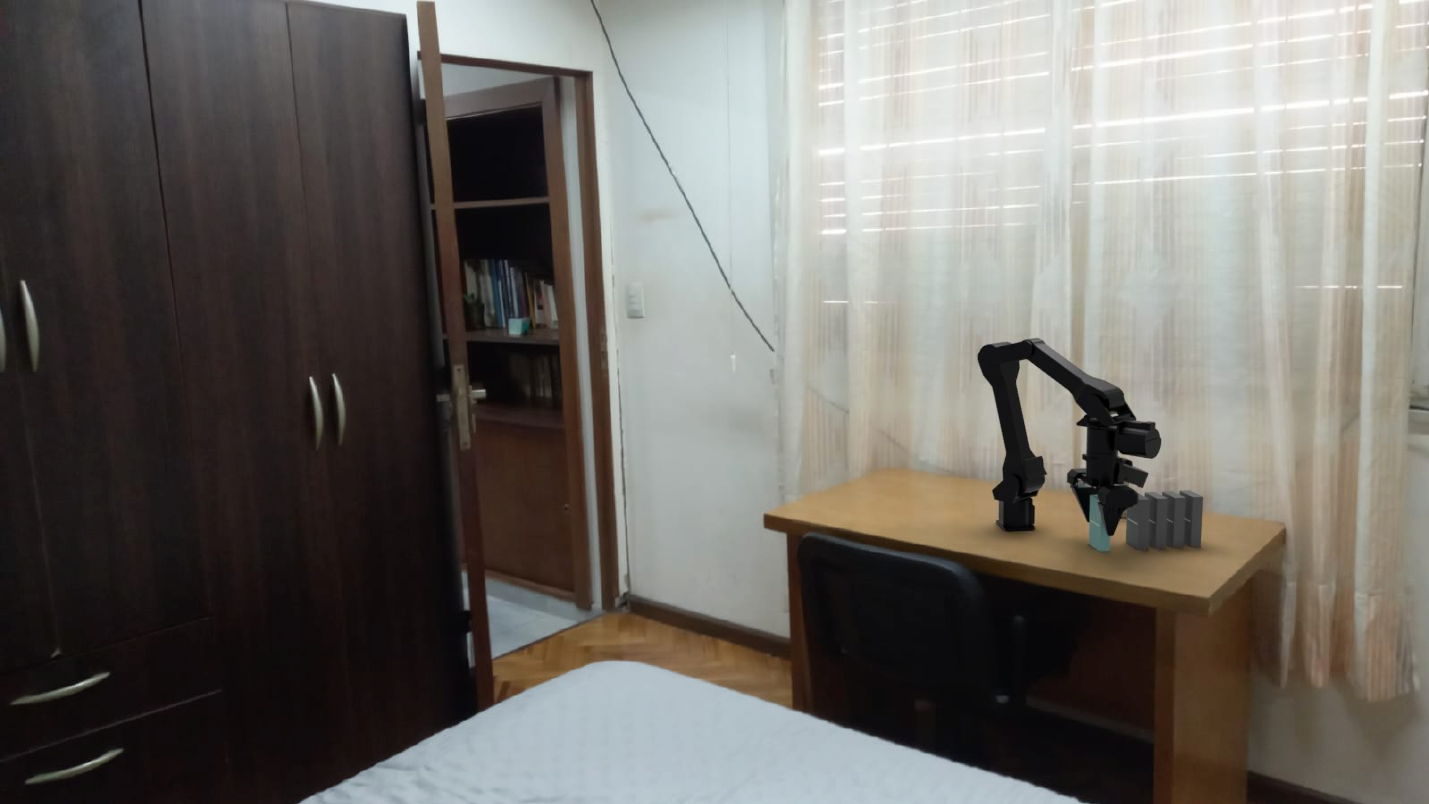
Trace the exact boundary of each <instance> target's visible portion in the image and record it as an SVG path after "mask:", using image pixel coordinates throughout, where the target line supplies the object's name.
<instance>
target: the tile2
mask: <svg viewBox="0 0 1429 804" xmlns="http://www.w3.org/2000/svg"><path fill="white" fill-rule="evenodd" d="M1137 493H1138V504H1136V505H1134V506H1133V507H1129V508H1128V509H1127V517H1126V524H1125V525H1126V526H1125V527H1126V528H1125V543H1127V544H1129V545H1130V546H1132V547H1133V548H1134V549H1136V550H1139V551H1140V550H1143V551H1144V550H1148V549H1149V544H1148V535H1149V507H1150V499H1148V498H1146V497H1145V495H1142V494H1140V493H1139V492H1137Z"/></svg>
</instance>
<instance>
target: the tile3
mask: <svg viewBox="0 0 1429 804" xmlns="http://www.w3.org/2000/svg"><path fill="white" fill-rule="evenodd" d="M1144 497H1146V498H1148V499H1150V507H1149V535H1148V546H1149V547H1152V548H1153V549H1155V550H1163V549H1166V545H1167V544H1166V526H1167V500H1168V498H1166V497H1164V496H1162V494H1159V493H1157V492H1155V491H1150V492H1149V491H1147V492H1144Z"/></svg>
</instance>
